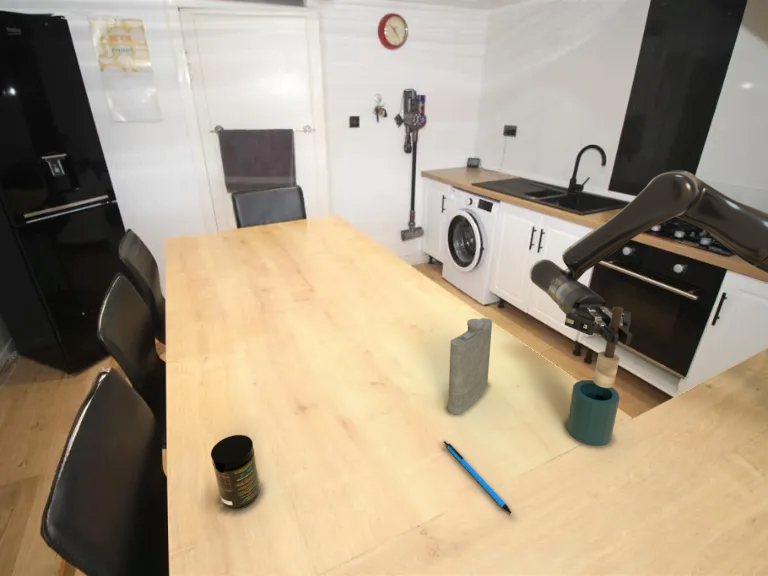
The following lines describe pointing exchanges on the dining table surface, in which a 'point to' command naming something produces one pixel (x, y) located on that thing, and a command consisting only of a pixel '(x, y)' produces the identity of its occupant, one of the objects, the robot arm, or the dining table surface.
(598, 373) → the brush
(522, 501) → the dining table surface
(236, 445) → the supplement container
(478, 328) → the hip flask
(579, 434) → the teal pen holder
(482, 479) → the pen
